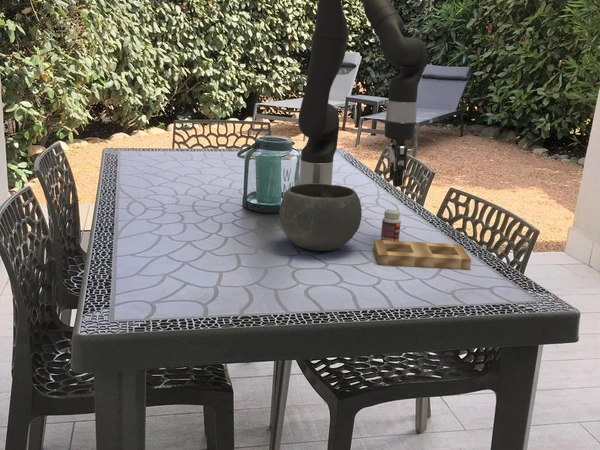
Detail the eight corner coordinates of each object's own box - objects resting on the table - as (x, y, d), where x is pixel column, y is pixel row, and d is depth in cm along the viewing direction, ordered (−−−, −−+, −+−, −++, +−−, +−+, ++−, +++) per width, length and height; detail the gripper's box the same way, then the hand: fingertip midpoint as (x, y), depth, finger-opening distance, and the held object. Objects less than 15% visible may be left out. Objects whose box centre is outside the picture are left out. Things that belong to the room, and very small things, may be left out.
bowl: (369, 244, 181) (374, 188, 176) (340, 266, 162) (345, 204, 158) (299, 231, 188) (302, 177, 184) (264, 250, 170) (266, 191, 166)
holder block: (377, 264, 165) (378, 254, 164) (373, 249, 176) (373, 239, 176) (470, 269, 165) (471, 259, 164) (459, 253, 177) (460, 244, 176)
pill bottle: (398, 245, 181) (401, 214, 178) (379, 243, 181) (382, 212, 179) (399, 240, 185) (402, 210, 183) (381, 238, 186) (384, 208, 184)
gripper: (382, 115, 181) (378, 176, 186) (389, 122, 168) (383, 187, 172) (411, 116, 181) (406, 177, 186) (420, 123, 168) (414, 189, 172)
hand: (395, 182), depth 179 cm, fingers open, 8 cm apart
